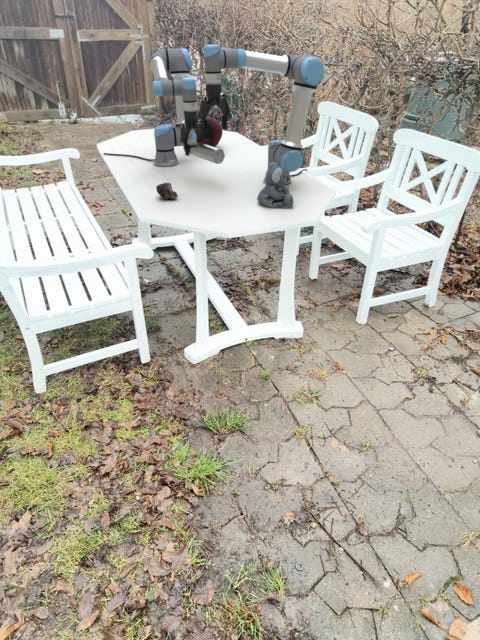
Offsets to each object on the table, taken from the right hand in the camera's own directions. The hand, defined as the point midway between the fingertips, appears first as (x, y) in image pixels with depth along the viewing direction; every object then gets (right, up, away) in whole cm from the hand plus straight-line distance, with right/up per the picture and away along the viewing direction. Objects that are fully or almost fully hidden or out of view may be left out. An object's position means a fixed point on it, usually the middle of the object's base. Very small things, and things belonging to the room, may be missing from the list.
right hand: (215, 131), depth 222 cm
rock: (-27, -28, +18) cm, 43 cm away
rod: (-8, -3, +28) cm, 29 cm away
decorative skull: (-12, +32, +105) cm, 111 cm away
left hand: (-14, +1, +33) cm, 36 cm away
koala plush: (+30, -33, +10) cm, 46 cm away
